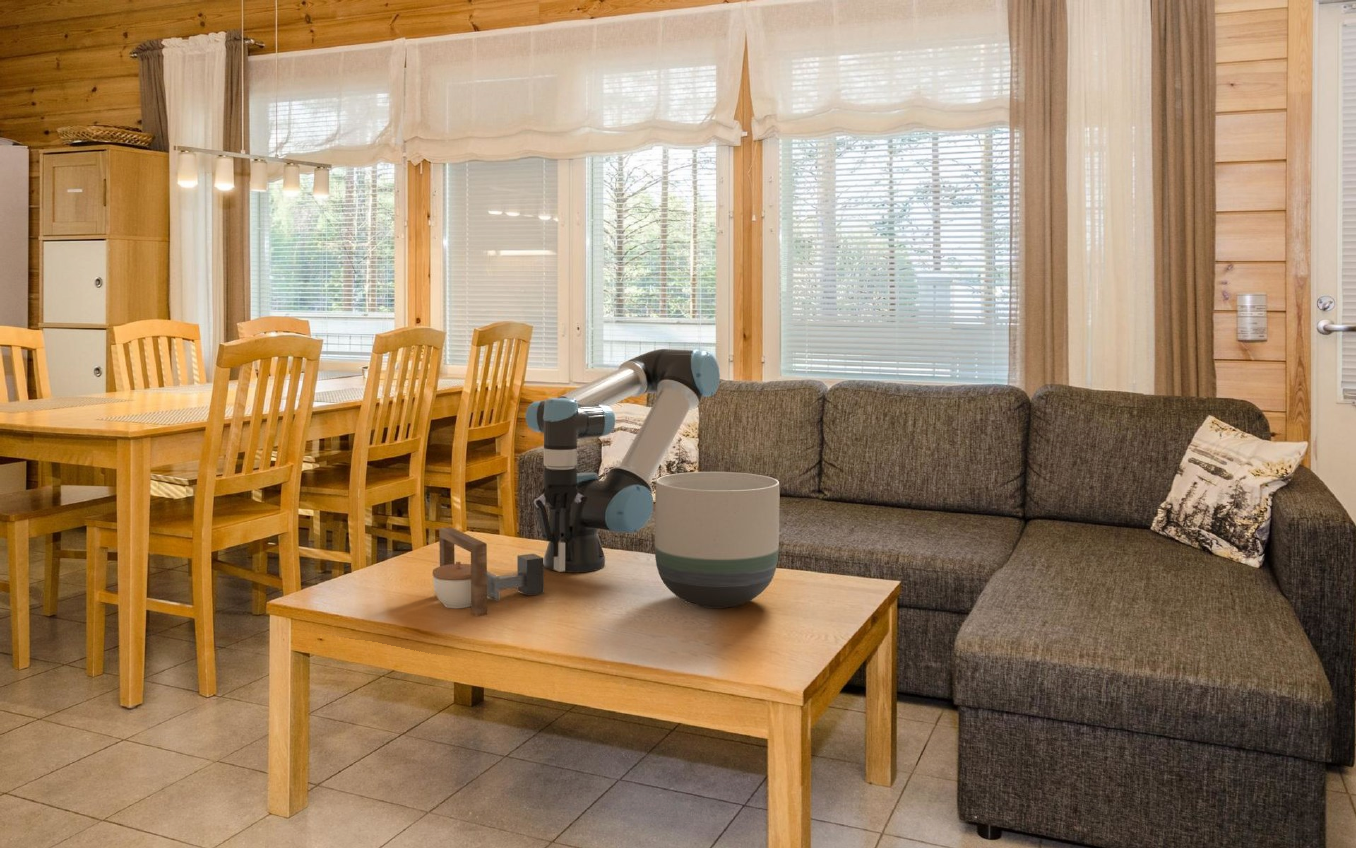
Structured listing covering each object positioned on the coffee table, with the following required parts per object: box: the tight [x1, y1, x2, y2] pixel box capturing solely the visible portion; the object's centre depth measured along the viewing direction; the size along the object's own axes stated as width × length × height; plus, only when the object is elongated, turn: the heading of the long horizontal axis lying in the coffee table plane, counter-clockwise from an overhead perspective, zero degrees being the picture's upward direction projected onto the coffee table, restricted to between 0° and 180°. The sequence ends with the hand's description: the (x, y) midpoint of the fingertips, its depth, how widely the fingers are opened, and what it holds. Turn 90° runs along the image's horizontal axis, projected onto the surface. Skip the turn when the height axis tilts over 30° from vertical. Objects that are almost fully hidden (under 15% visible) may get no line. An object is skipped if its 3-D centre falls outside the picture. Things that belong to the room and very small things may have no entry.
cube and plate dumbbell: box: [487, 553, 545, 601], centre depth 240 cm, size 12×9×8 cm
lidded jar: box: [432, 561, 471, 609], centre depth 233 cm, size 11×11×9 cm
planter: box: [654, 471, 781, 609], centre depth 235 cm, size 27×27×27 cm
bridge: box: [438, 526, 488, 617], centre depth 233 cm, size 2×20×15 cm, turn 33°
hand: (559, 570), depth 246 cm, fingers closed
